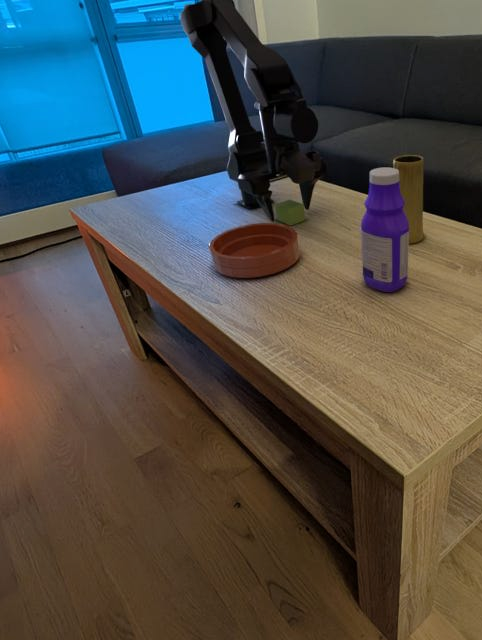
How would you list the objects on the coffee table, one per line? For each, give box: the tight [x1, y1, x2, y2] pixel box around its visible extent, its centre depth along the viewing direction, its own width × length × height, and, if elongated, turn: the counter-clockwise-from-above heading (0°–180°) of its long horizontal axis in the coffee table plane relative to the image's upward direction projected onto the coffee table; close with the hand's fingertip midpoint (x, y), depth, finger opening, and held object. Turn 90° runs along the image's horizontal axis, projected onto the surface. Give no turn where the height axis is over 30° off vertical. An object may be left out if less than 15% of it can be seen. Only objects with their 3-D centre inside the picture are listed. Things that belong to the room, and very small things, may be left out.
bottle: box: [360, 166, 410, 293], centre depth 66 cm, size 7×6×17 cm
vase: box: [392, 154, 425, 245], centre depth 81 cm, size 6×6×14 cm
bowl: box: [208, 222, 301, 279], centre depth 81 cm, size 16×16×4 cm
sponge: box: [274, 199, 306, 227], centre depth 96 cm, size 5×4×4 cm
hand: (290, 215), depth 96 cm, fingers open, 9 cm apart
